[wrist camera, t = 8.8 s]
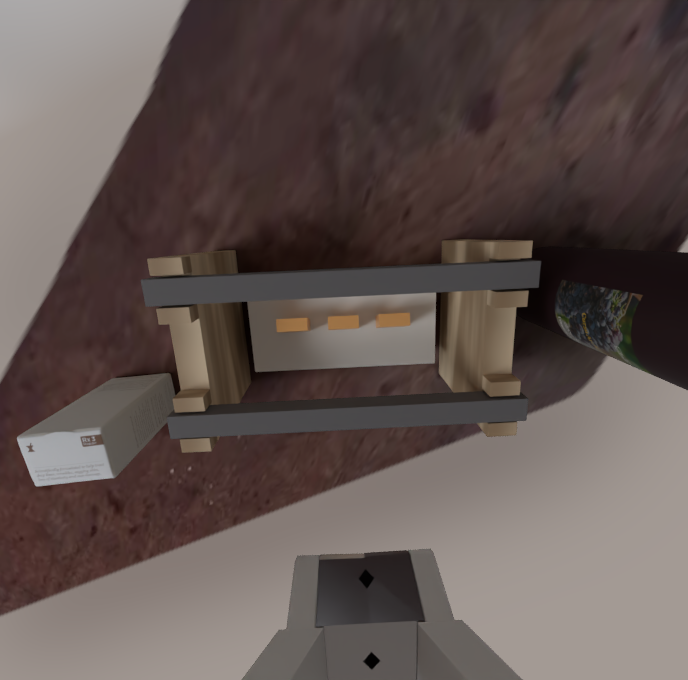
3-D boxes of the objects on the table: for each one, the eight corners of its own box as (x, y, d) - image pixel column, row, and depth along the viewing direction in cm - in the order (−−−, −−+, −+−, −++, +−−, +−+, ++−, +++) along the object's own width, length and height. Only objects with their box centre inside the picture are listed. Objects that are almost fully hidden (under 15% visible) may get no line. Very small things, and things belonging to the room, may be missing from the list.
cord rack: (463, 239, 35) (532, 240, 22) (458, 371, 38) (516, 435, 26) (213, 251, 34) (147, 258, 22) (231, 383, 38) (182, 452, 26)
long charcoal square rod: (527, 259, 24) (541, 261, 23) (525, 284, 25) (538, 287, 23) (153, 277, 24) (140, 280, 22) (157, 302, 24) (145, 306, 23)
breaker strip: (425, 268, 35) (436, 272, 31) (424, 350, 37) (434, 363, 34) (254, 276, 35) (244, 281, 31) (263, 358, 37) (255, 372, 33)
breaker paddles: (403, 314, 32) (409, 312, 29) (403, 326, 32) (410, 325, 29) (282, 320, 32) (276, 319, 29) (282, 332, 32) (276, 332, 29)
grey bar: (517, 389, 27) (528, 398, 25) (515, 410, 27) (526, 420, 25) (176, 406, 26) (166, 417, 25) (180, 427, 27) (170, 438, 25)
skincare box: (123, 415, 39) (31, 493, 27) (111, 374, 37) (9, 437, 26) (182, 409, 39) (116, 484, 27) (173, 368, 37) (99, 428, 26)
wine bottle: (494, 263, 35) (1217, 383, 6) (568, 234, 35) (1727, 223, 6) (513, 330, 37) (1145, 665, 8) (583, 304, 37) (1528, 563, 8)
